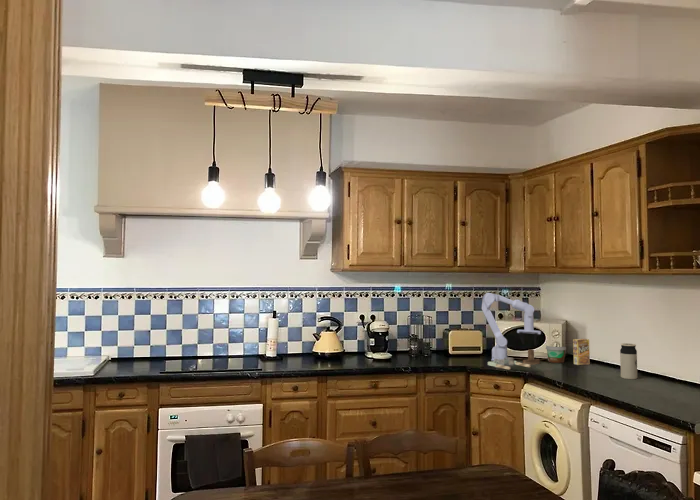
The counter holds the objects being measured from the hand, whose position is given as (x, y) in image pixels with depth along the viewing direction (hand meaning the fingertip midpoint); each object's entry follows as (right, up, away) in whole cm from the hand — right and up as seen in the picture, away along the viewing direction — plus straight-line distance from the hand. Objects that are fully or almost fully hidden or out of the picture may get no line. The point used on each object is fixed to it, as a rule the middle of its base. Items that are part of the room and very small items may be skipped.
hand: (529, 345), depth 354 cm
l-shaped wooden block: (-2, -10, -11) cm, 15 cm away
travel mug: (+36, -9, -55) cm, 66 cm away
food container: (+15, -11, -4) cm, 19 cm away
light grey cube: (-23, -10, -14) cm, 28 cm away
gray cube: (-16, -10, -10) cm, 21 cm away
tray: (-20, -10, -12) cm, 25 cm away
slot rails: (-16, -10, -20) cm, 27 cm away
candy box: (+28, -10, -11) cm, 32 cm away
